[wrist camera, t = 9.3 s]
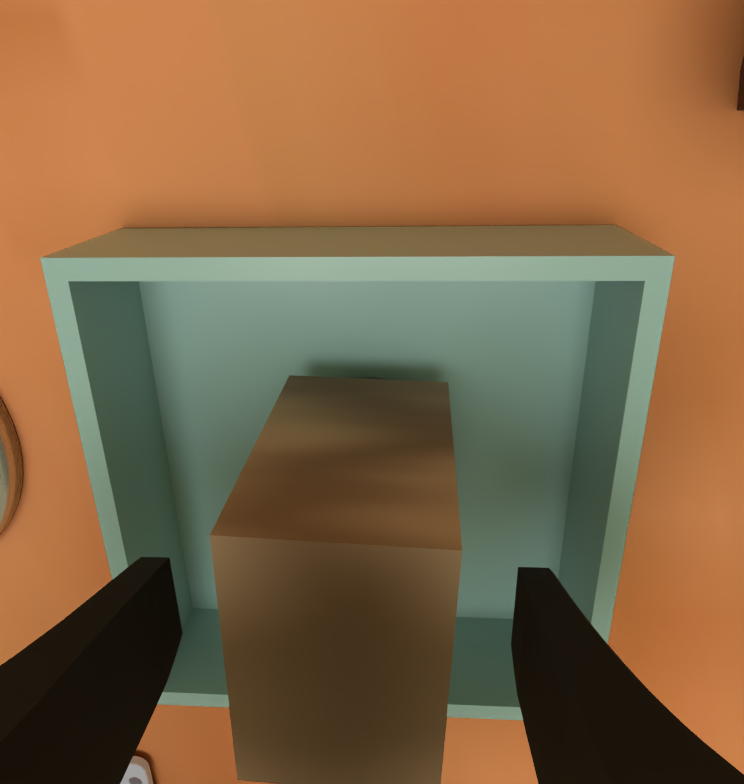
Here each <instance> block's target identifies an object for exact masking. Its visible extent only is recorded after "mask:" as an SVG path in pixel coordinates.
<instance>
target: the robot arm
mask: <svg viewBox="0 0 744 784" xmlns="http://www.w3.org/2000/svg"><path fill="white" fill-rule="evenodd" d="M182 634H183V632H182V626H181V620H180V615H179V609H178V603H177V597H176V592H175V586H174V580H173V574H172V569H171V563H170V558H169V557H140V558H139V559H138V560H136V561H135V562H134V563H132V564H131V565H130V566H129V567H127V568H126V569H125V570H124V571H123V572H121V573H120V574H119V575H118V576H116V577H115V578H114V579H113V580H112V581H110V582H109V583H108V584H107V585H106V586H104V587H103V588H102V589H101V590H99V591H98V592H97V593H96V594H95V595H93V596H92V597H91V598H90V599H88V600H87V601H86V602H85V603H83V604H82V605H81V606H80V607H78V608H77V609H76V610H75V611H73V612H72V613H71V614H70V615H69V616H67V617H66V618H65V619H64V620H62V621H61V622H60V623H58V624H57V625H56V626H54V627H53V628H52V629H50V630H49V631H48V632H46V633H45V634H44V635H42V636H41V637H39V638H38V639H37V640H35V641H34V642H33V643H31V644H30V645H29V646H27V647H26V648H25V649H23V650H22V651H21V652H19V653H18V654H17V655H15V656H14V657H12V658H11V659H9V660H8V661H7V662H5V663H4V664H2V665H1V666H0V784H153V780H152V775H151V771H150V767H149V764H148V762H147V761H146V760H145V759H144V758H141V757H138V756H133V755H134V753H135V751H136V749H137V747H138V744H139V742H140V740H141V738H142V736H143V734H144V732H145V729H146V727H147V725H148V723H149V721H150V719H151V716H152V714H153V712H154V710H155V708H156V705H157V703H158V701H159V699H160V697H161V694H162V692H163V690H164V688H165V685H166V683H167V681H168V678H169V675H170V672H171V669H172V666H173V663H174V660H175V657H176V654H177V650H178V647H179V644H180V640H181V637H182ZM511 650H512V658H513V666H514V675H515V682H516V690H517V696H518V700H519V704H520V709H521V713H522V717H523V721H524V725H525V730H526V734H527V738H528V742H529V746H530V750H531V754H532V758H533V763H534V767H535V771H536V775H537V779H538V783H539V784H744V775H743V774H742V773H741V772H740V771H738V770H737V769H736V768H735V767H733V766H732V765H731V764H730V763H729V762H727V761H726V760H725V759H724V758H723V757H721V756H720V755H719V754H718V753H716V752H715V751H714V750H713V749H712V748H710V747H709V746H708V745H707V744H705V743H704V742H703V741H702V740H701V739H700V738H698V737H697V736H696V735H695V734H694V733H693V732H692V731H690V730H689V729H688V728H687V727H686V726H685V725H684V724H683V723H682V722H681V721H680V720H679V719H678V718H676V717H675V716H674V715H673V714H672V713H671V712H670V711H669V710H668V709H667V708H666V707H665V706H664V705H663V704H662V703H661V702H660V701H659V700H658V699H657V698H656V697H655V696H654V695H653V694H652V693H651V692H650V691H649V690H648V689H647V688H646V687H645V686H644V685H643V684H642V682H641V681H640V680H639V679H638V678H637V677H636V676H635V675H634V674H633V673H632V672H631V670H630V669H629V668H628V667H627V666H626V665H625V664H624V663H623V662H622V660H621V659H620V658H619V657H618V656H617V655H616V654H615V652H614V651H613V650H612V649H611V648H610V646H609V645H608V644H607V643H606V641H605V640H604V639H603V638H602V637H601V635H600V634H599V633H598V632H597V631H596V629H595V628H594V627H593V626H592V624H591V623H590V622H589V620H588V619H587V618H586V617H585V615H584V614H583V613H582V611H581V610H580V609H579V607H578V606H577V605H576V603H575V602H574V601H573V599H572V598H571V597H570V595H569V594H568V592H567V591H566V590H565V588H564V587H563V585H562V584H561V583H560V581H559V580H558V578H557V577H556V575H555V574H554V573H553V572H552V570H551V569H550V568H540V567H518V573H517V584H516V595H515V606H514V616H513V627H512V638H511Z"/></svg>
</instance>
